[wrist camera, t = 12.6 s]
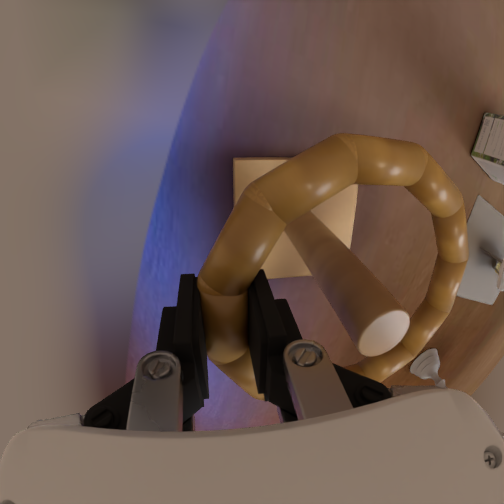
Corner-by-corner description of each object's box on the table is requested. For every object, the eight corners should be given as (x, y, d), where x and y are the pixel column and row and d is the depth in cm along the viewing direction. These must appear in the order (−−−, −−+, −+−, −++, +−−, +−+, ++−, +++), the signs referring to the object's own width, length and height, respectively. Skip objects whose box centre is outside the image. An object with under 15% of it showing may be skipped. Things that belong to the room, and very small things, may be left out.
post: (235, 273, 23) (265, 420, 11) (232, 157, 19) (276, 227, 7) (340, 265, 24) (426, 379, 12) (353, 159, 20) (490, 222, 8)
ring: (214, 403, 14) (218, 429, 13) (187, 131, 9) (185, 131, 7) (414, 356, 17) (427, 372, 15) (467, 153, 11) (492, 160, 10)
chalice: (446, 352, 35) (506, 434, 19) (414, 381, 36) (466, 467, 20) (433, 337, 32) (505, 433, 16) (397, 370, 34) (457, 472, 18)
